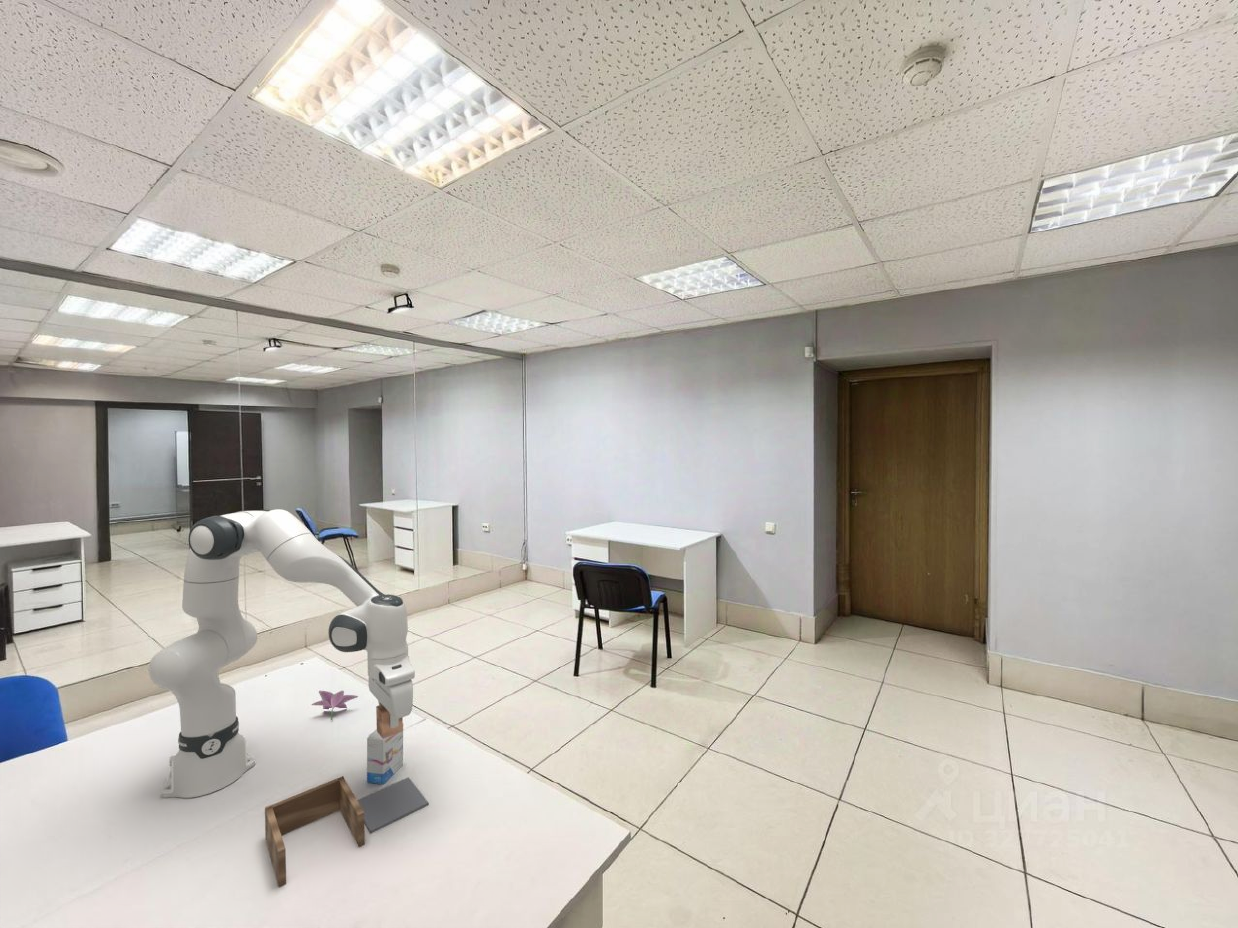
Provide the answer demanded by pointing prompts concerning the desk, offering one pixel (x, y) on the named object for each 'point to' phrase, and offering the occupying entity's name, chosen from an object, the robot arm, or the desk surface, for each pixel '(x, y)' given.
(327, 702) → the lily
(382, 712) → the terracotta block
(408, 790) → the slate mat
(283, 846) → the walnut cubby
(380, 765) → the ink box
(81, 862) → the desk surface
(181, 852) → the desk surface
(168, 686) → the robot arm
